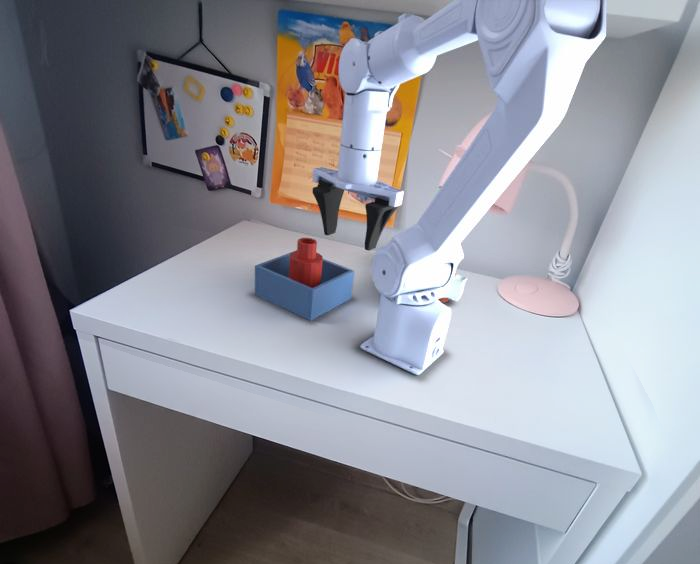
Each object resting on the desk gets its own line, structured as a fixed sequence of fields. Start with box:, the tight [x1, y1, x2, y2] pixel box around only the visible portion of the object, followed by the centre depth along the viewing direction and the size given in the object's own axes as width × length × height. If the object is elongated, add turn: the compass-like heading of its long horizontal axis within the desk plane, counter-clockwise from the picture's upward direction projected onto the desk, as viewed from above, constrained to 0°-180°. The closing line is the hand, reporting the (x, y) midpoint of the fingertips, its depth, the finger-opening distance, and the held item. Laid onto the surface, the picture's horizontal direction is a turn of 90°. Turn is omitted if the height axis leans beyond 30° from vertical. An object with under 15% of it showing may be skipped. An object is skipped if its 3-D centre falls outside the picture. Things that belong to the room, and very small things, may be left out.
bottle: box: [289, 237, 324, 288], centre depth 74 cm, size 5×5×9 cm
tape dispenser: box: [436, 272, 468, 303], centre depth 84 cm, size 18×5×20 cm
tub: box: [254, 249, 355, 322], centre depth 76 cm, size 12×11×5 cm
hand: (349, 241), depth 72 cm, fingers open, 7 cm apart
